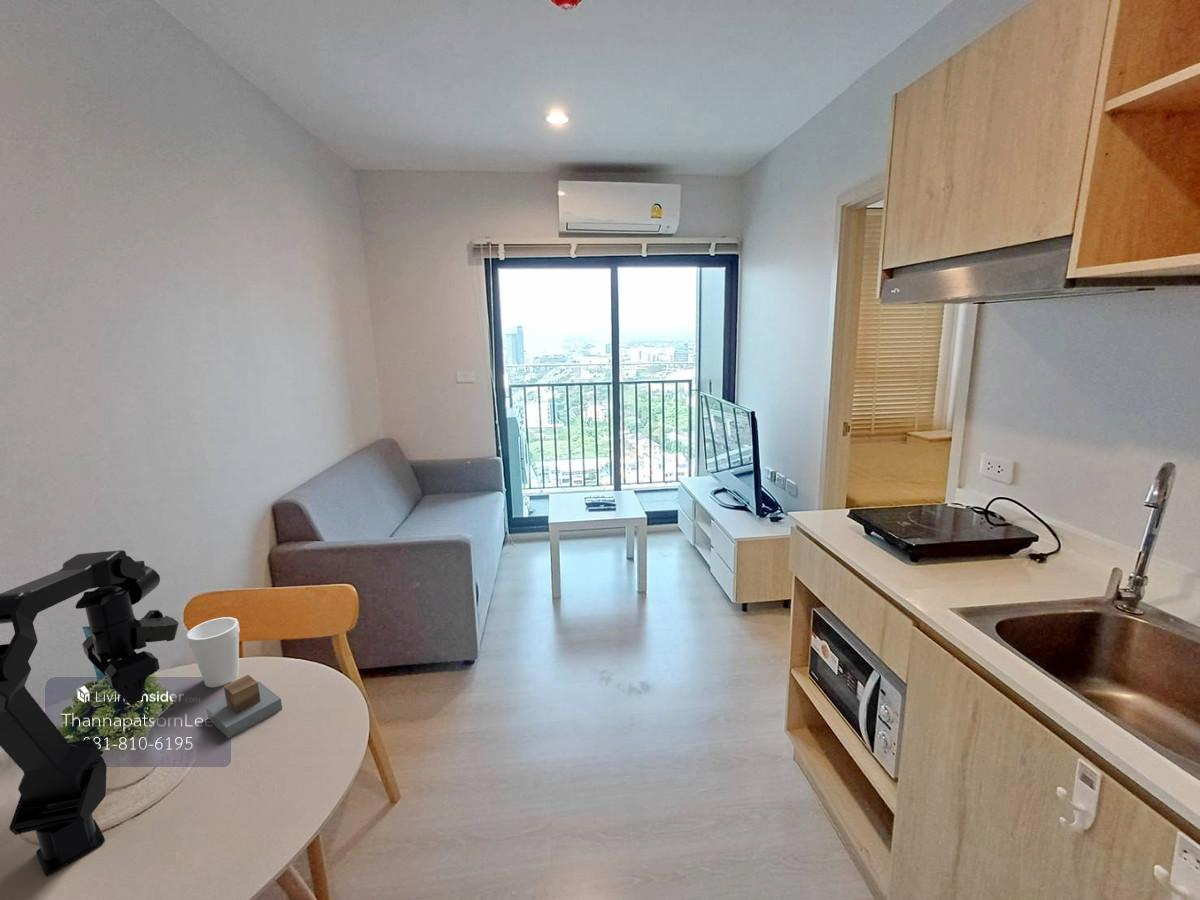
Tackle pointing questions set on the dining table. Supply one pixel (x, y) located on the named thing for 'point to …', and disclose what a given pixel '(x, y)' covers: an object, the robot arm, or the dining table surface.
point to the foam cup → (216, 650)
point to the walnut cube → (242, 693)
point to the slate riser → (243, 712)
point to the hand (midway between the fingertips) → (128, 695)
